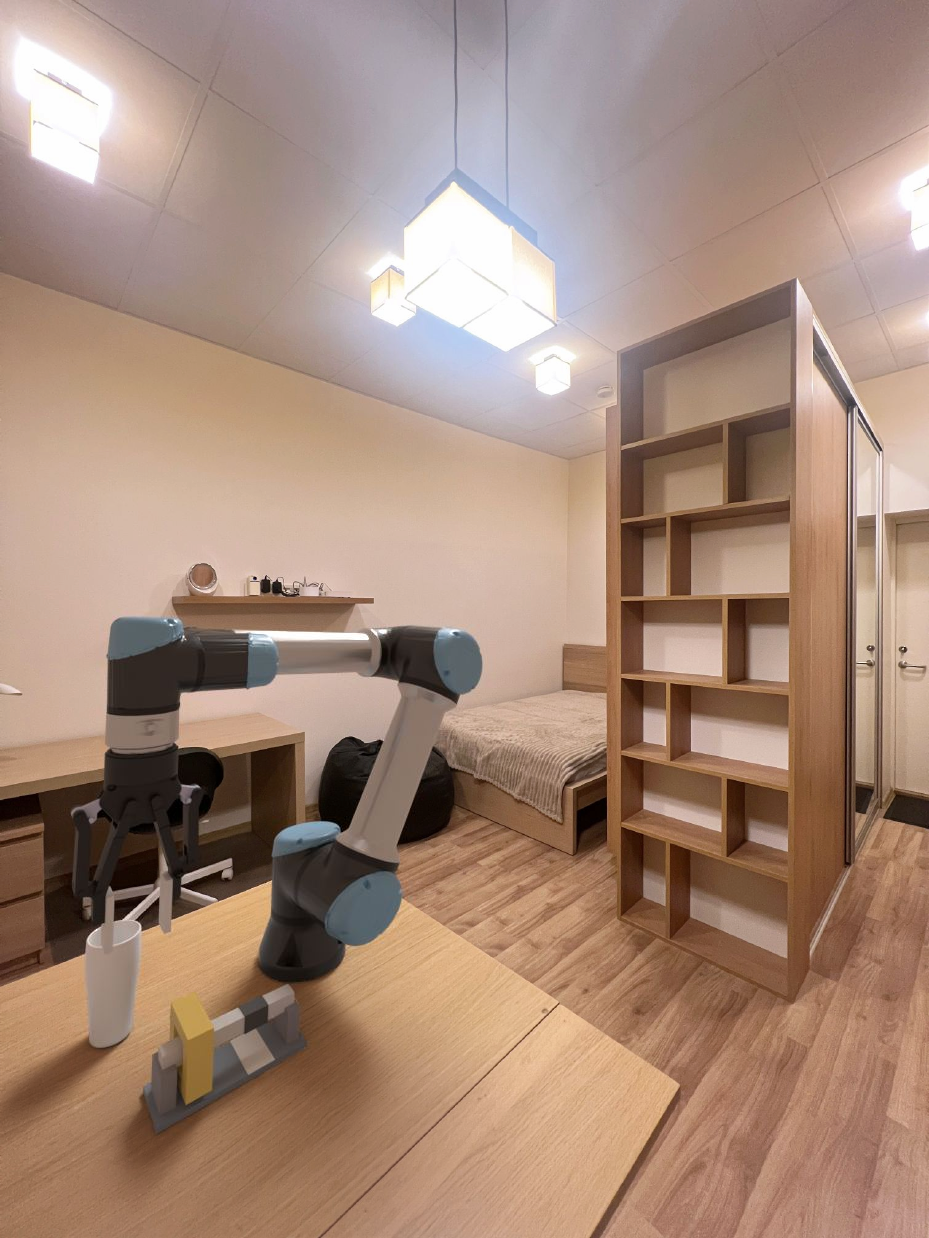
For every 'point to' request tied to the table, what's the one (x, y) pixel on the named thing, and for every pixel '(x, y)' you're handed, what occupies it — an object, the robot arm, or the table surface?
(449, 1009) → the table surface
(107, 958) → the white cup
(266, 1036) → the rail
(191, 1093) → the collar
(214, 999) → the table surface
